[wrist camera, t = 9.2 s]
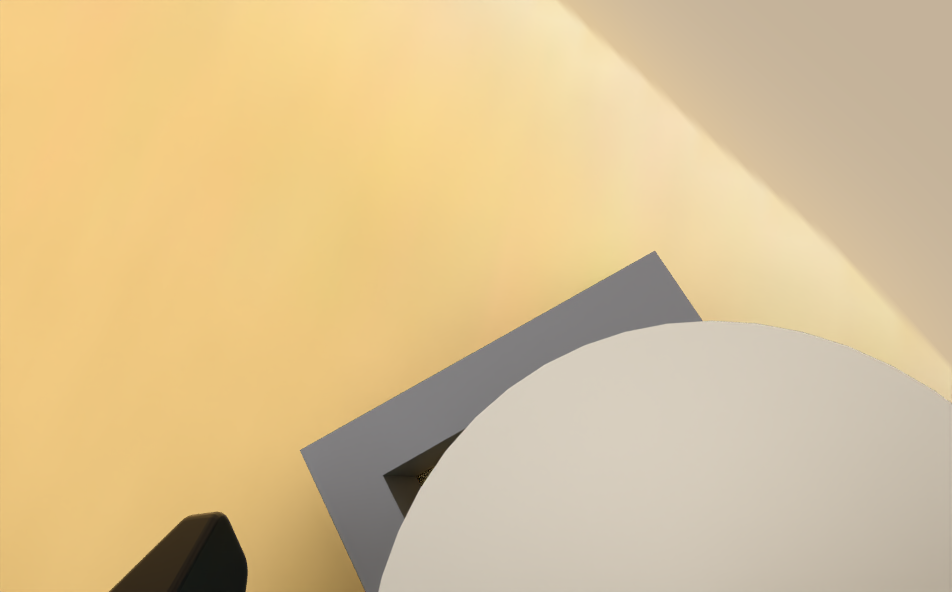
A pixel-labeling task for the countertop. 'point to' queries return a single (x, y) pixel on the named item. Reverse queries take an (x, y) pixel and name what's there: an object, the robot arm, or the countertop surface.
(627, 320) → the socket
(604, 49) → the countertop surface
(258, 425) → the countertop surface
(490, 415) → the peg
